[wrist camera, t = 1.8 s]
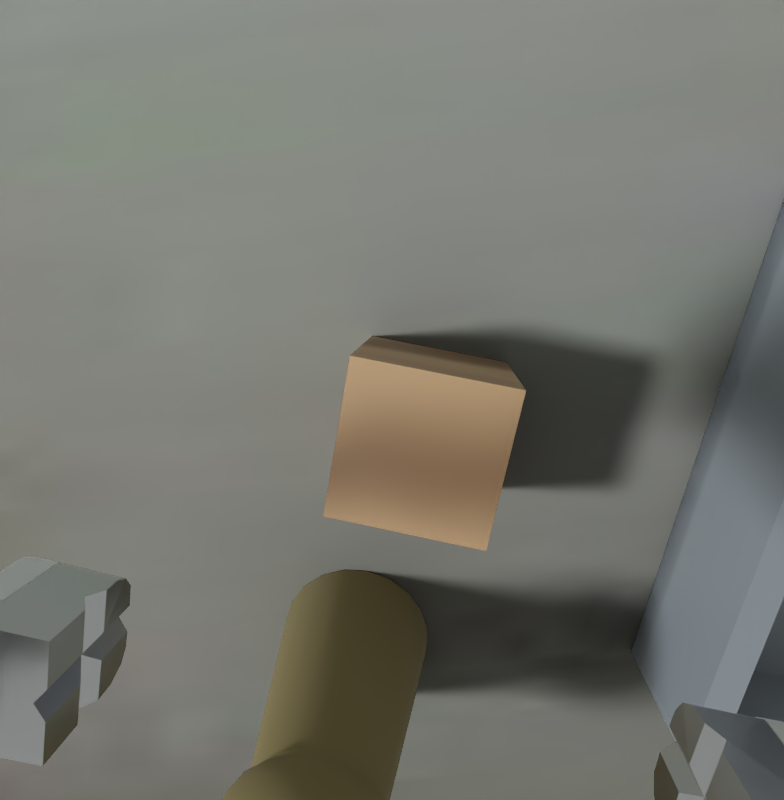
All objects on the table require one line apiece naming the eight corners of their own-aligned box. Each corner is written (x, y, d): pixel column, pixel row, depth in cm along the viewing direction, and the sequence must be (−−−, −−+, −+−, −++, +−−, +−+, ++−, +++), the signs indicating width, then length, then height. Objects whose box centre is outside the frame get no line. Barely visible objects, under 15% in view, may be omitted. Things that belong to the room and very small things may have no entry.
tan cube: (372, 335, 20) (350, 355, 15) (506, 361, 20) (526, 390, 15) (350, 461, 21) (323, 516, 17) (476, 487, 21) (486, 550, 16)
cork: (454, 613, 22) (463, 922, 12) (386, 718, 24) (339, 1076, 13) (323, 544, 22) (213, 794, 12) (263, 654, 24) (116, 965, 13)
